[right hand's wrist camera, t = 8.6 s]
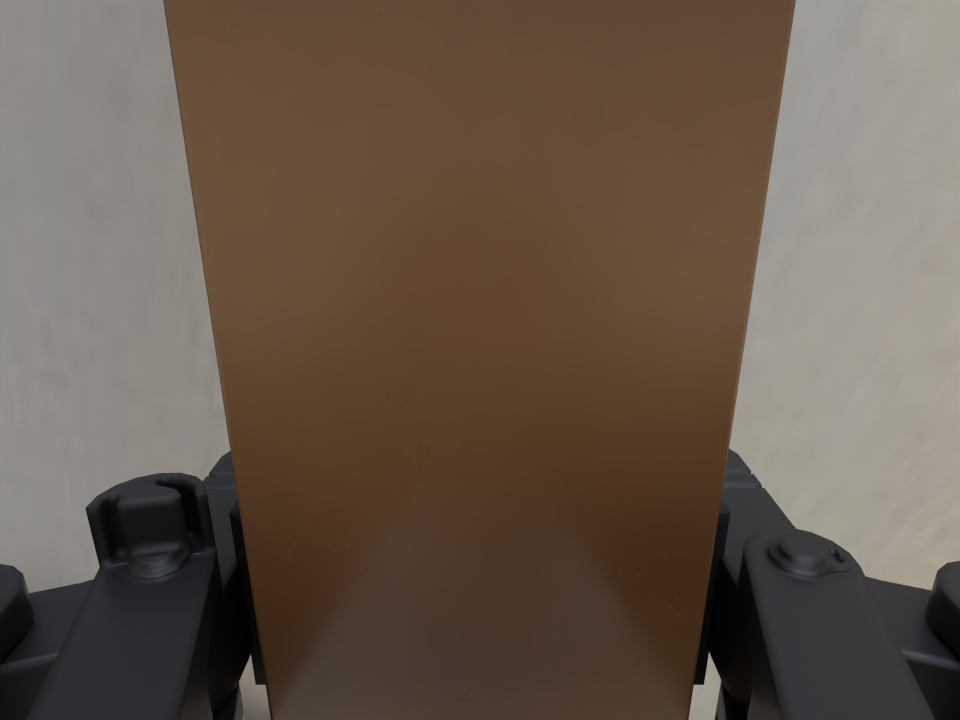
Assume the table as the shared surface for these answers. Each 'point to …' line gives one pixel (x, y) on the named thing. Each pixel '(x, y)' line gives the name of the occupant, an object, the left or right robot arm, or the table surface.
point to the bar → (479, 335)
